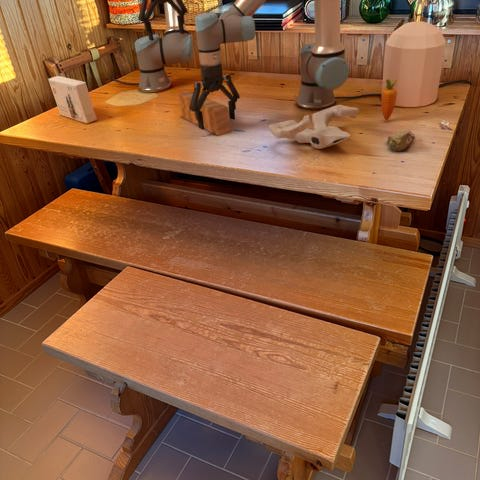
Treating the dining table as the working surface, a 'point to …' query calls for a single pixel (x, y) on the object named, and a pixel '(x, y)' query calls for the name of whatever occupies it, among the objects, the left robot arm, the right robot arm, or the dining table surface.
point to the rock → (400, 140)
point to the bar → (206, 114)
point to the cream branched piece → (316, 128)
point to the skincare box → (72, 99)
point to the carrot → (388, 99)
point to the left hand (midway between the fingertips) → (167, 36)
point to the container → (414, 63)
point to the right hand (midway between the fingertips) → (217, 123)
